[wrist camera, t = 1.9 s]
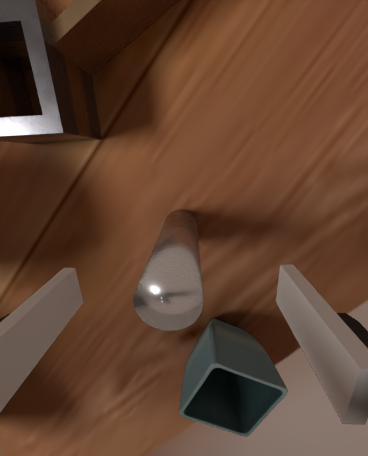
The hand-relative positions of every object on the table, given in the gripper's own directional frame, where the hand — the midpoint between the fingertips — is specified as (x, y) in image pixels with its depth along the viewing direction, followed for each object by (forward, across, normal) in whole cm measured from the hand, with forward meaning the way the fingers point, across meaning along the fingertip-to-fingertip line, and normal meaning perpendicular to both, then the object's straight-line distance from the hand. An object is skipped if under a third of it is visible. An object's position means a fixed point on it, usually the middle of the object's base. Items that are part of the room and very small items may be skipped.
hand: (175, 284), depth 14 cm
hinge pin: (+12, 0, 0) cm, 12 cm away
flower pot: (+12, +4, -17) cm, 22 cm away
